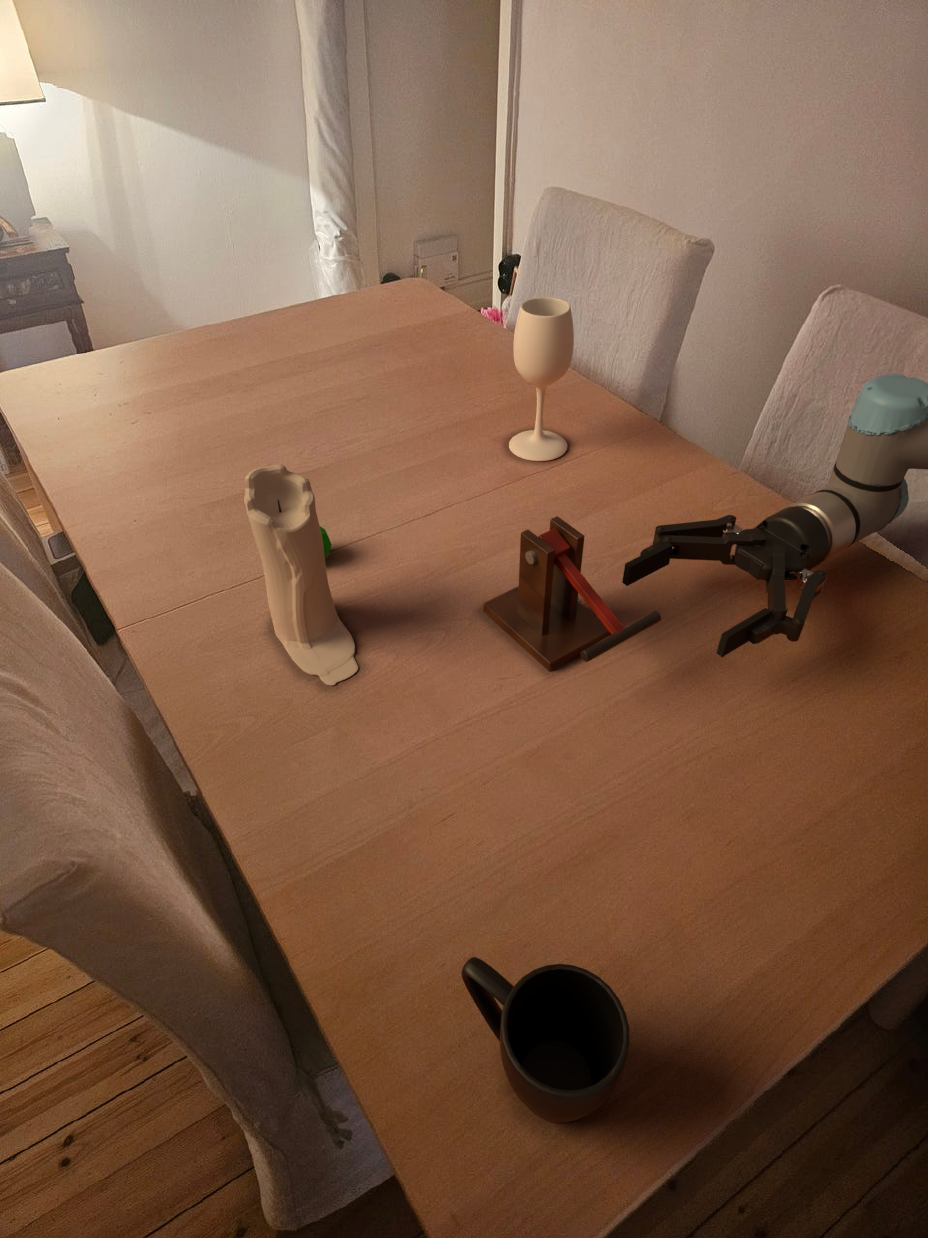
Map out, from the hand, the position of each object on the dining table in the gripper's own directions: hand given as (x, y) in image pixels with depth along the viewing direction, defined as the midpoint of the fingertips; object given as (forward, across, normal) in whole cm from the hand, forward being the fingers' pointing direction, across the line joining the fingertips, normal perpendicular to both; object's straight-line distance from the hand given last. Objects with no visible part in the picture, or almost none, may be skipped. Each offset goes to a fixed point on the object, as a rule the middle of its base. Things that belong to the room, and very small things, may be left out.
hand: (671, 608), depth 85 cm
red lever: (+7, +6, +1) cm, 10 cm away
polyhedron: (+23, +38, -7) cm, 45 cm away
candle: (+30, +24, -7) cm, 39 cm away
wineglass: (-17, +42, -7) cm, 46 cm away
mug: (+38, -24, -7) cm, 45 cm away
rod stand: (+7, +11, -7) cm, 15 cm away
